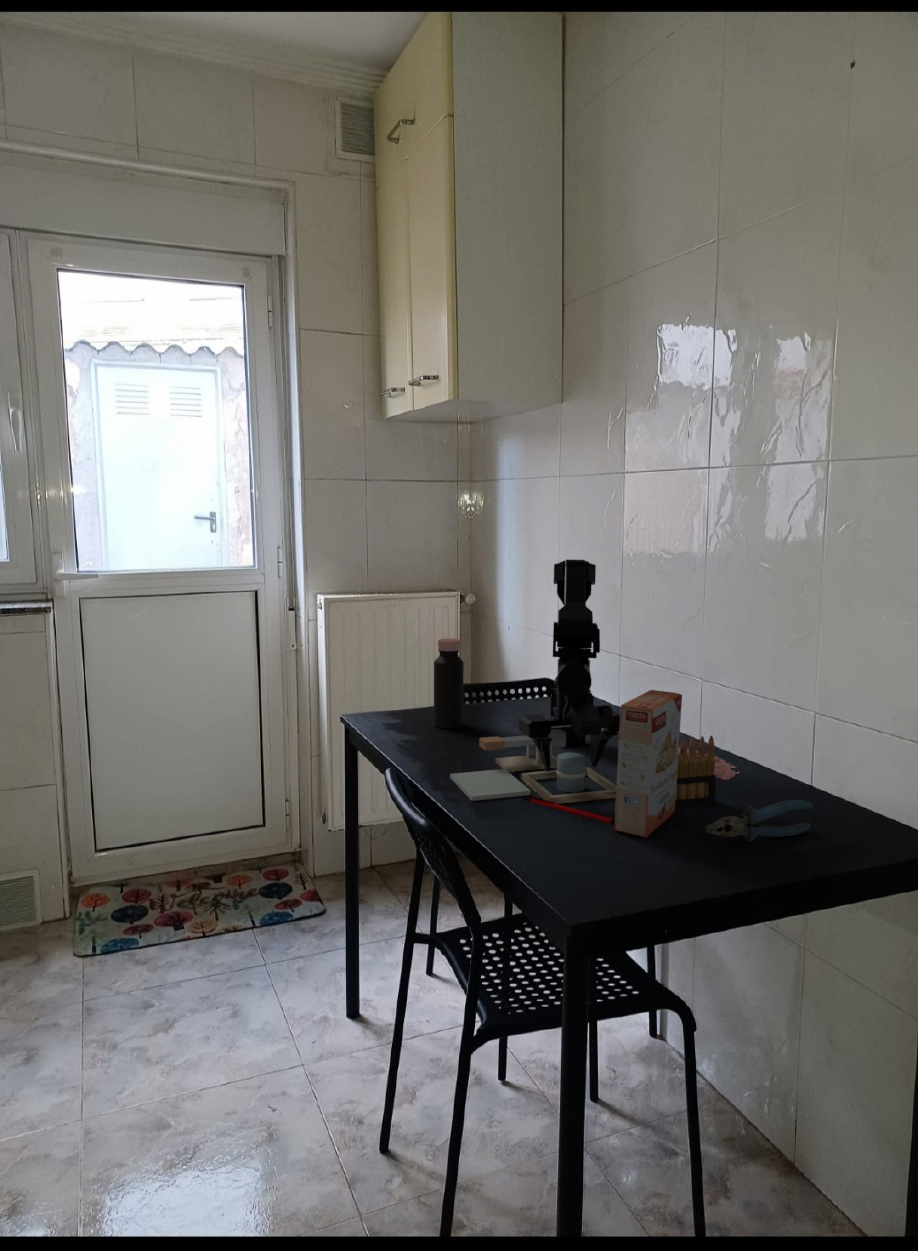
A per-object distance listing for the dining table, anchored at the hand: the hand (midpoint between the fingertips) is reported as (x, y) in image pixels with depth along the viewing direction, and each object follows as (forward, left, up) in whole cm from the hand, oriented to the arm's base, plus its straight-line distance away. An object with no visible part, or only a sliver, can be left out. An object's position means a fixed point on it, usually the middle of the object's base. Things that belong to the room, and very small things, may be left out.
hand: (570, 769), depth 160 cm
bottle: (+9, -48, -4) cm, 49 cm away
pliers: (-18, +31, -4) cm, 36 cm away
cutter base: (+2, -15, -4) cm, 15 cm away
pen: (+5, +11, -4) cm, 13 cm away
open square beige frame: (0, 0, -4) cm, 4 cm away
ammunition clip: (-16, +13, -4) cm, 21 cm away
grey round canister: (0, 0, -4) cm, 4 cm away
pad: (+14, -5, -4) cm, 15 cm away
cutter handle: (+3, -15, 0) cm, 15 cm away
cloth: (-29, -8, -4) cm, 30 cm away
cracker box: (-5, +19, -4) cm, 20 cm away
